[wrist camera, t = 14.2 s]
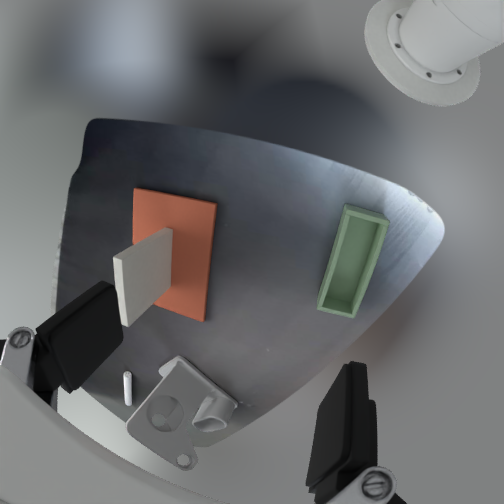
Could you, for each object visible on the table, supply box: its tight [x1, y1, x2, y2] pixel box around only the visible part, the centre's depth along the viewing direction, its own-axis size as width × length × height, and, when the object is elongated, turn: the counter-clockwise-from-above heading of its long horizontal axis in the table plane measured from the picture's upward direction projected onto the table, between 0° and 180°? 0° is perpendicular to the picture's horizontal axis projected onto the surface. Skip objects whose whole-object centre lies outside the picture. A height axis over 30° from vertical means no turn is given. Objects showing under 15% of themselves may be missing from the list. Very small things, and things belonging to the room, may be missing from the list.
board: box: [113, 227, 173, 327], centre depth 36 cm, size 10×1×12 cm, turn 171°
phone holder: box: [126, 356, 238, 471], centre depth 45 cm, size 17×10×18 cm, turn 46°
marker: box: [124, 371, 132, 406], centre depth 61 cm, size 18×2×2 cm, turn 161°
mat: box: [133, 188, 218, 322], centre depth 41 cm, size 20×14×1 cm
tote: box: [317, 204, 390, 318], centre depth 33 cm, size 14×5×4 cm, turn 171°
